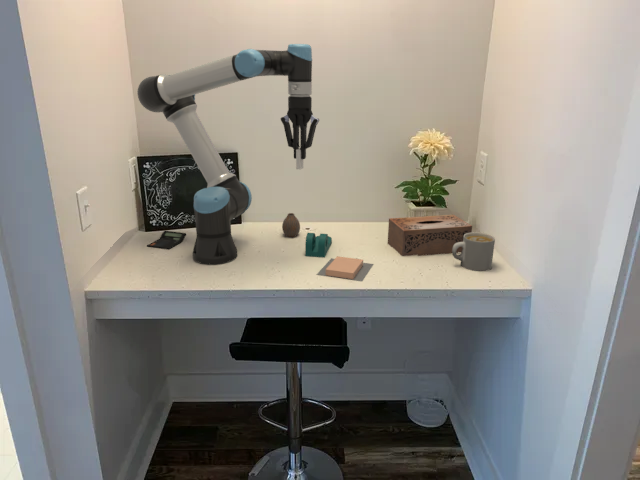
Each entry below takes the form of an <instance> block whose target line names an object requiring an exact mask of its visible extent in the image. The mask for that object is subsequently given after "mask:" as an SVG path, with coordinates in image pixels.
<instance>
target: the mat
mask: <svg viewBox="0 0 640 480" xmlns="http://www.w3.org/2000/svg"><path fill="white" fill-rule="evenodd" d="M334 259H335V258H333V257H330V259H329V260H328V261H327V262H326V263H325V265H323V267H322V268H321V269H320V270H319V271H318V272H317V273H316V275H317V276H320V277H321V276H322V277H329V278H334V279H335V278H336V279H341V280H342V279H343V280H350V281H356V282H363V281H364V280H365V278H366V277H367V275H368V274H369V272H370V271H371V269H372V268H373V266H374V265H375V264H374V263H369V262H363V266H362V268H361V269H360V270H359V272H358V273H357V275H356V276H355V277H354V279H348V278H341V277H335V276H328V275H326V268H327V267H328V266H329V265H330V264H331V263H332V262H333V261H334Z"/></svg>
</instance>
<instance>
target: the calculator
mask: <svg viewBox="0 0 640 480" xmlns="http://www.w3.org/2000/svg"><path fill="white" fill-rule="evenodd" d="M186 237H187V233H186V232H180V231H171V230H164V231H163V232H162V234H161V235H160V236H159V238H158V239H156V240H154V241H153V242H152V241H151V242H150V243H149V244H147V245H146V247H148V248H154V249H162V250H168V251H169V250H171V249H173V248H175V247H177V246H178V245H179V244H182V243H181V242H183V241H184V239H185V238H186Z"/></svg>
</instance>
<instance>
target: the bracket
mask: <svg viewBox="0 0 640 480" xmlns="http://www.w3.org/2000/svg"><path fill="white" fill-rule="evenodd" d="M332 241H333V239H332V237H331V236H329V235H328V233H319V235H317V236H316V233H315V232H307V233H306V237H305V257H312V258H314V257H315V258H326V257H327V253H328V252H329V250H330V247H331V246H332V243H333V242H332Z"/></svg>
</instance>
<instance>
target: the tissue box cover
mask: <svg viewBox="0 0 640 480" xmlns="http://www.w3.org/2000/svg"><path fill="white" fill-rule="evenodd" d="M472 231H473V225H472V224H470V223H468V222H466V221H464V219H462V218H460V217H459V216H456V215H455V214H441V215H440V214H439V215H427V216H425V215H424V216H408V217H393V218H388V230H387V244H388V245H389V246H390V247H391V248H393V249H394V250H395V251H396V253H398V254H399V255H400V256H401V257H409V256H417V257H419V256H420V257H421V256H422V257H423V256H435V255H448V254H452V248H453V246H454V244H455V243H458V242H463V236H464V234H466V233H472ZM458 252H462V247H459V248H458V249H457V251H456V254H458Z"/></svg>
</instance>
